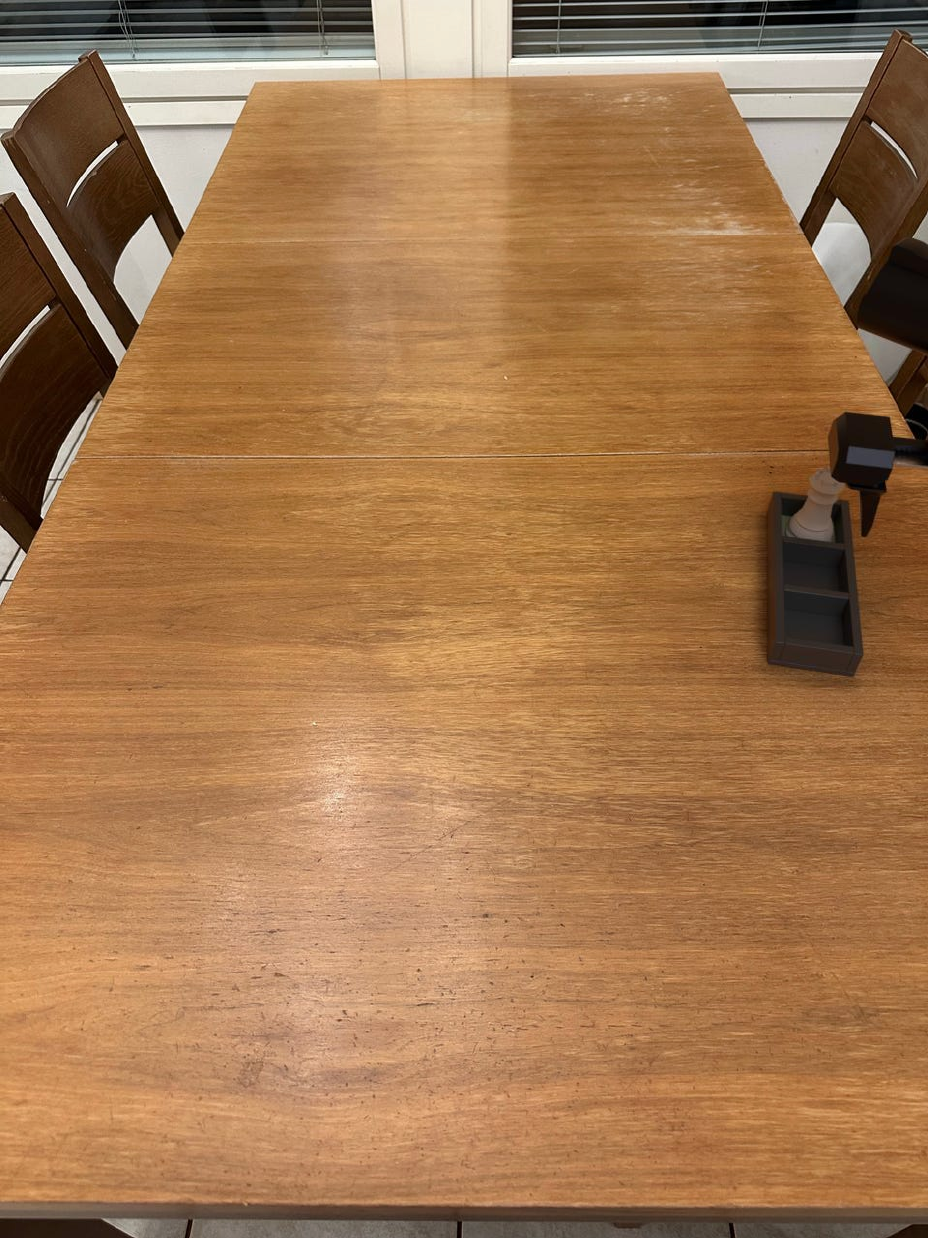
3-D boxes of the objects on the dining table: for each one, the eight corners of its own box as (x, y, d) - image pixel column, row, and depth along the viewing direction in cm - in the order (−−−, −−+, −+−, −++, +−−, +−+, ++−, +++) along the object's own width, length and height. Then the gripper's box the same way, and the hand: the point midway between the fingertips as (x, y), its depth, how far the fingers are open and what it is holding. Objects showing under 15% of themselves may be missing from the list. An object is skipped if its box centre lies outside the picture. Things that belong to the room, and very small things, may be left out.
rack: (840, 523, 97) (848, 500, 95) (853, 677, 84) (863, 654, 81) (766, 513, 98) (773, 490, 96) (767, 664, 85) (775, 641, 82)
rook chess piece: (839, 547, 94) (864, 484, 88) (799, 557, 93) (821, 494, 87) (814, 518, 96) (837, 456, 90) (776, 527, 96) (796, 465, 90)
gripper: (870, 431, 62) (808, 594, 74) (1177, 466, 60) (1062, 629, 71) (858, 341, 70) (803, 502, 81) (1131, 368, 67) (1034, 531, 79)
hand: (921, 541), depth 78 cm, fingers open, 9 cm apart
